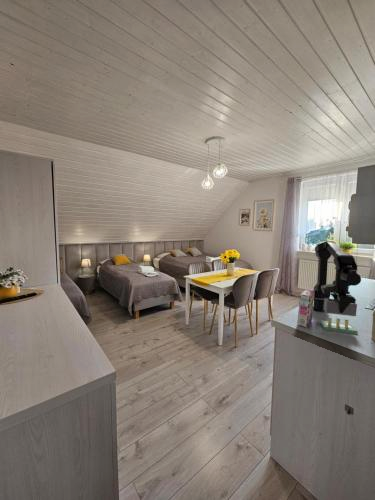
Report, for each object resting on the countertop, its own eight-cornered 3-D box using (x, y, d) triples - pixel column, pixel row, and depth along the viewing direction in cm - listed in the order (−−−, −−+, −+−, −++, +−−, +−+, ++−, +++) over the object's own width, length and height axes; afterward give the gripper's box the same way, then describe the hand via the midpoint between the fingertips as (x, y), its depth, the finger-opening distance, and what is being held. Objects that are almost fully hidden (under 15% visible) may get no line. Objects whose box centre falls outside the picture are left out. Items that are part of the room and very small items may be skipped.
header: (319, 322, 117) (320, 313, 116) (350, 326, 112) (351, 317, 112) (324, 329, 109) (324, 319, 108) (357, 334, 105) (358, 323, 104)
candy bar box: (307, 328, 110) (310, 296, 108) (297, 325, 113) (299, 294, 111) (312, 321, 119) (314, 291, 117) (302, 318, 122) (304, 289, 120)
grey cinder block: (323, 309, 114) (324, 298, 113) (351, 312, 110) (352, 300, 110) (326, 313, 109) (327, 301, 109) (355, 316, 106) (357, 304, 105)
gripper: (318, 274, 119) (316, 302, 121) (329, 283, 101) (326, 316, 103) (342, 276, 116) (339, 305, 118) (357, 285, 98) (354, 319, 100)
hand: (339, 310), depth 110 cm, fingers closed on grey cinder block, 5 cm apart
